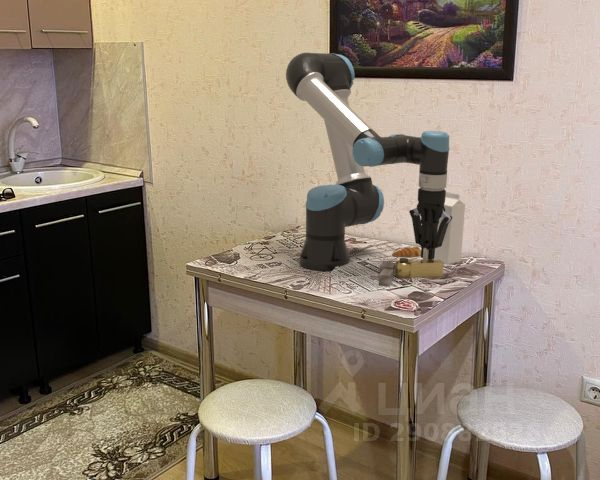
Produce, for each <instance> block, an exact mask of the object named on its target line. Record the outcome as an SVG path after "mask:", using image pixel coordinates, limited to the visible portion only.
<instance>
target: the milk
mask: <svg viewBox="0 0 600 480" xmlns="http://www.w3.org/2000/svg"><path fill="white" fill-rule="evenodd" d="M460 197H461V196H460V194H458V193H452V192H448V191H446V197H445V203H444V208H445V213H446V214H447V215H448V216H452V220H451V221H450V222H449V224H448V227H447V230H446V234H445V237H444V240H443V243H442V246H441V247H438V248H435V255H434V259H432V260H441V261H442V262H443V264H446V265H451V264H454V263H458V262H462V247H463V237H464V223H465V209H466V204H465V203H464V202H463V201H462V200H460ZM441 218H442V217H441ZM441 218H440V219H439V224H438V229H439V226H440V223H441ZM438 229H437V232H438Z"/></svg>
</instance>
